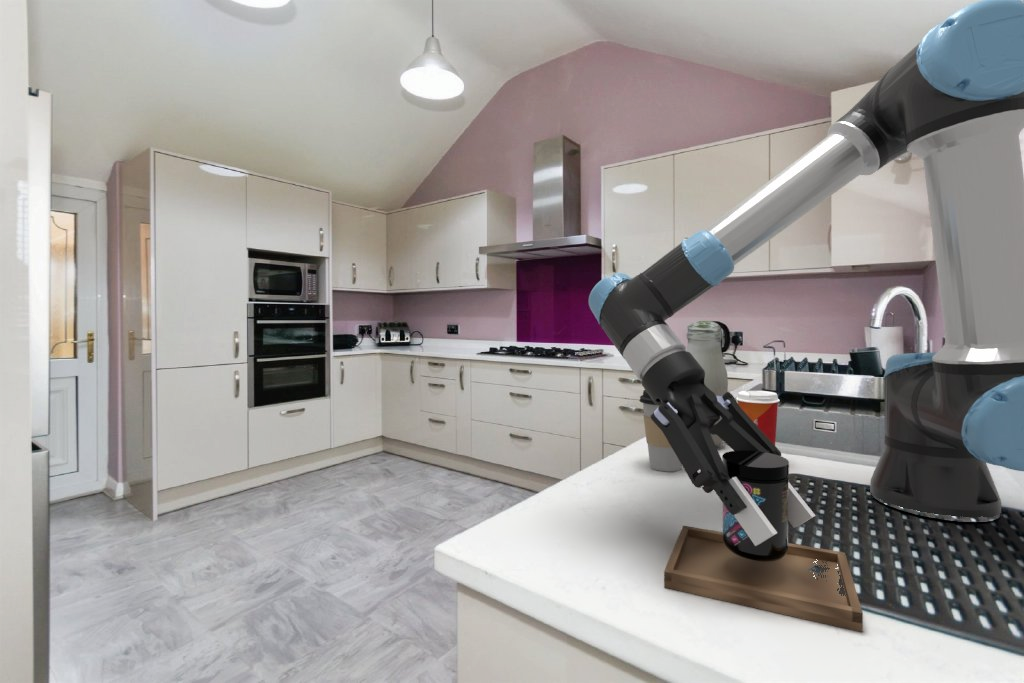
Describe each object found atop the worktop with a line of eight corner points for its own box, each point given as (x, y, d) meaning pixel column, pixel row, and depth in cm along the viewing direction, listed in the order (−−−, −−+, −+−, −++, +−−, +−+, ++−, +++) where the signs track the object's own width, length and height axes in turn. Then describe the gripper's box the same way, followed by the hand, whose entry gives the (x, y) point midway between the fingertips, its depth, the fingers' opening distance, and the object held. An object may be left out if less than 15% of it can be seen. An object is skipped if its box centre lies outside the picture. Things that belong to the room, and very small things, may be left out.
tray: (844, 567, 58) (844, 552, 57) (862, 632, 46) (862, 613, 46) (683, 538, 66) (682, 525, 66) (664, 587, 54) (664, 571, 54)
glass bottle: (681, 450, 108) (680, 322, 106) (680, 438, 117) (679, 321, 116) (730, 453, 105) (730, 321, 103) (725, 441, 114) (725, 320, 113)
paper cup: (729, 458, 101) (729, 390, 100) (767, 457, 101) (767, 389, 100) (746, 470, 93) (746, 396, 93) (788, 469, 93) (788, 395, 92)
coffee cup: (694, 475, 91) (693, 394, 90) (641, 473, 93) (640, 394, 92) (686, 460, 100) (686, 387, 99) (639, 459, 102) (638, 387, 101)
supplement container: (717, 533, 60) (717, 448, 59) (779, 538, 58) (779, 451, 58) (727, 560, 54) (727, 465, 53) (796, 567, 52) (797, 469, 51)
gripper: (695, 378, 73) (808, 523, 60) (595, 392, 63) (706, 571, 50) (727, 344, 68) (858, 493, 56) (625, 352, 58) (756, 539, 45)
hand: (786, 530), depth 53 cm, fingers closed on supplement container, 7 cm apart
